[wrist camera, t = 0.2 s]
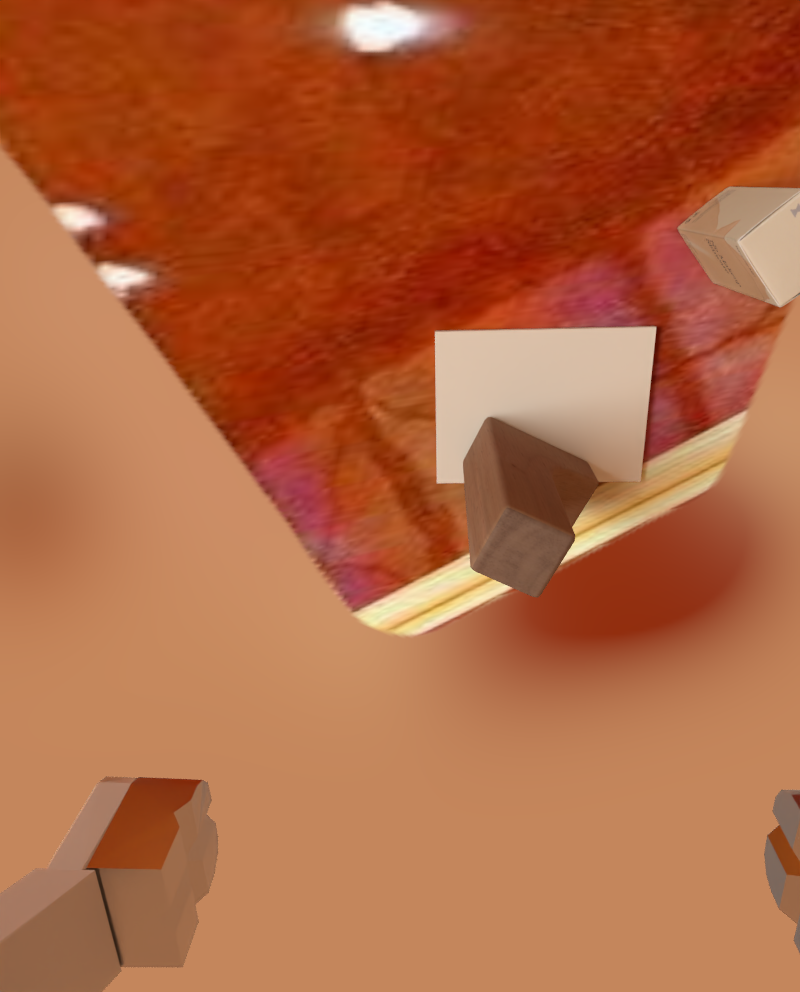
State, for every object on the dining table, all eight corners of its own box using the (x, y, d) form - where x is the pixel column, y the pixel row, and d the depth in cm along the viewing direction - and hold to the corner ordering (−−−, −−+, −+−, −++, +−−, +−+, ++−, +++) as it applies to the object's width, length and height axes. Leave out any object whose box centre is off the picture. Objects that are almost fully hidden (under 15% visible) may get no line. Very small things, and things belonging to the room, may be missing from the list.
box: (674, 227, 50) (732, 236, 40) (730, 183, 49) (805, 181, 39) (715, 287, 52) (781, 311, 42) (770, 246, 50) (852, 260, 40)
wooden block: (590, 461, 57) (651, 570, 40) (561, 509, 58) (608, 632, 42) (487, 413, 56) (505, 504, 39) (460, 463, 57) (468, 571, 41)
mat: (435, 330, 54) (434, 331, 54) (654, 325, 53) (656, 327, 52) (436, 481, 59) (436, 483, 58) (639, 479, 58) (640, 481, 57)
